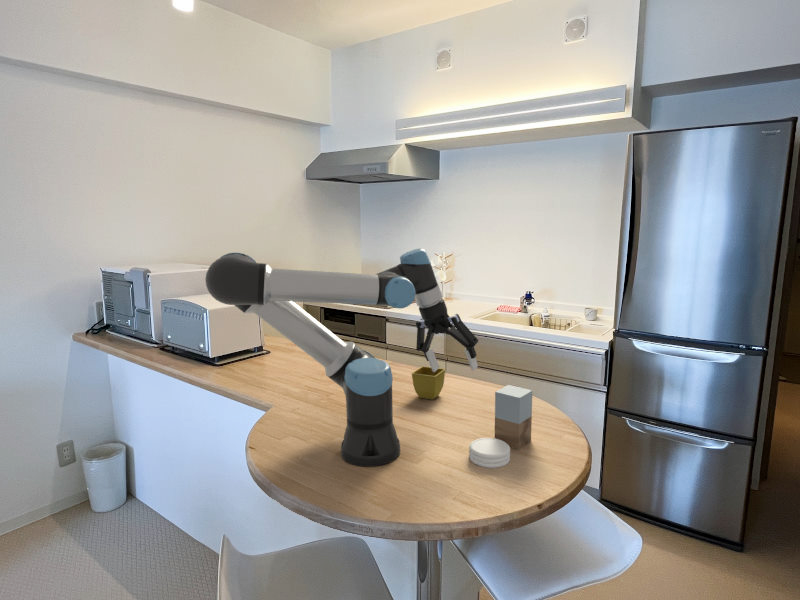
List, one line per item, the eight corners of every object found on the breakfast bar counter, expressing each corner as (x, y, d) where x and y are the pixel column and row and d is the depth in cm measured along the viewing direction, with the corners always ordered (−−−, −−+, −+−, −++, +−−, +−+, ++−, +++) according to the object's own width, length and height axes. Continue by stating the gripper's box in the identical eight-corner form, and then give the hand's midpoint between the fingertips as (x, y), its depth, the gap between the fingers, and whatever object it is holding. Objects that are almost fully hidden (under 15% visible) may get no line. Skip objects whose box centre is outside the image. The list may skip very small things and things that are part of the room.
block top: (519, 424, 123) (519, 397, 122) (494, 417, 127) (495, 391, 126) (531, 415, 128) (532, 390, 127) (508, 409, 133) (508, 384, 132)
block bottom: (518, 449, 124) (519, 424, 123) (494, 442, 129) (494, 417, 127) (531, 440, 129) (531, 415, 128) (507, 433, 134) (508, 409, 133)
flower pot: (411, 398, 161) (410, 372, 160) (422, 390, 169) (422, 365, 167) (435, 403, 157) (435, 376, 156) (445, 394, 165) (445, 369, 163)
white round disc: (481, 446, 127) (482, 433, 126) (517, 457, 121) (517, 443, 120) (461, 460, 119) (461, 447, 119) (497, 473, 113) (498, 459, 112)
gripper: (474, 291, 131) (498, 360, 136) (404, 302, 147) (427, 364, 151) (461, 302, 125) (486, 374, 130) (390, 313, 141) (414, 376, 146)
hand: (455, 369), depth 141 cm, fingers open, 13 cm apart
